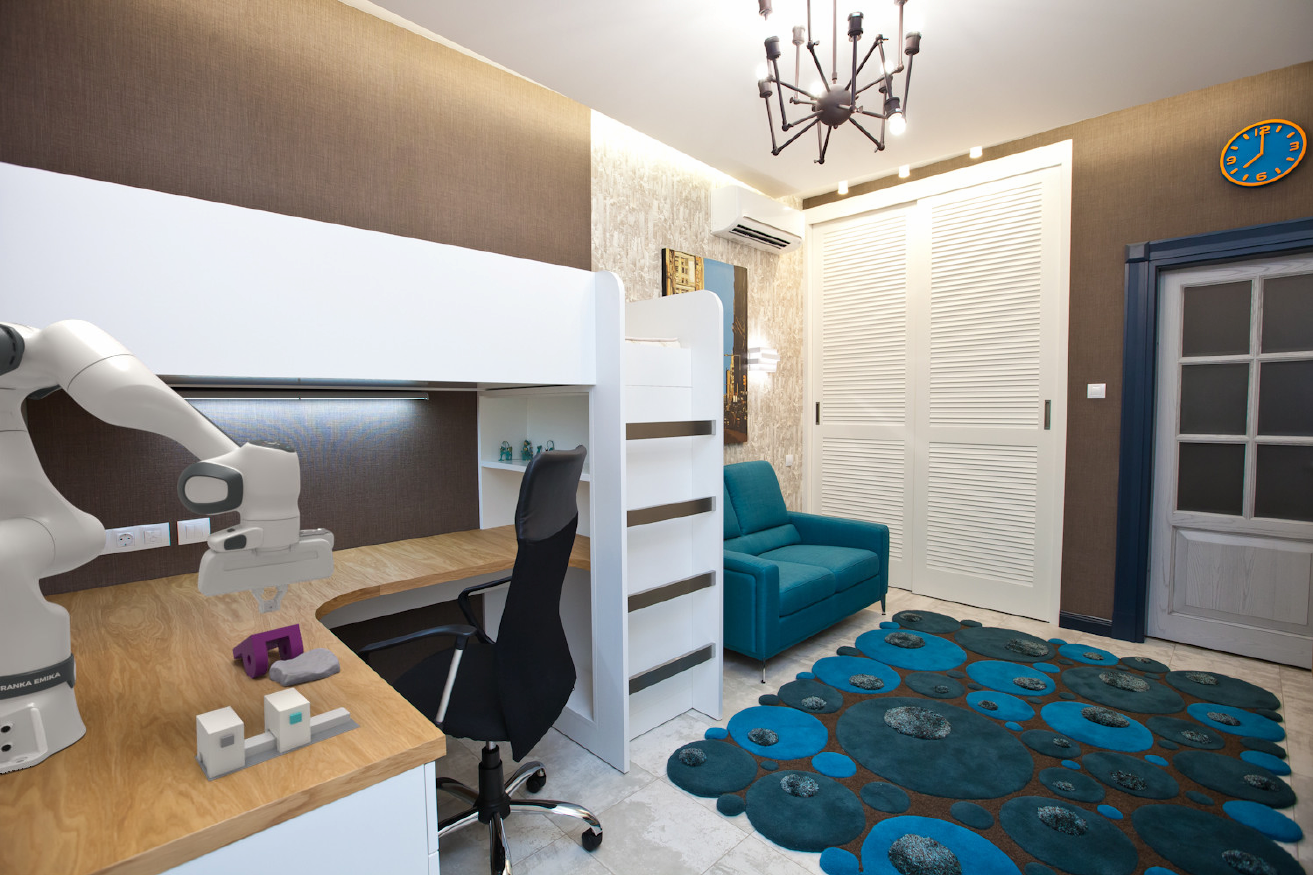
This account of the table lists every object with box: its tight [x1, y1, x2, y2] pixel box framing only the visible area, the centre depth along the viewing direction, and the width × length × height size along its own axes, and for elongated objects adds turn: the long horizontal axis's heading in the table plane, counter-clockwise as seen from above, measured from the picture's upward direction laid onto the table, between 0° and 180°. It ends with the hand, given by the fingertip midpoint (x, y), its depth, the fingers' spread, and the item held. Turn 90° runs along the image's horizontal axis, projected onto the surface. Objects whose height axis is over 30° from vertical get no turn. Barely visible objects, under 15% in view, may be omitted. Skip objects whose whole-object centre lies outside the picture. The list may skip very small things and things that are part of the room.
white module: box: [263, 687, 311, 753], centre depth 103 cm, size 4×9×7 cm, turn 47°
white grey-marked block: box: [195, 705, 245, 778], centre depth 96 cm, size 4×9×7 cm, turn 47°
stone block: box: [268, 647, 341, 687], centre depth 132 cm, size 12×5×10 cm
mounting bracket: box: [231, 623, 305, 679], centre depth 137 cm, size 9×8×18 cm
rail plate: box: [193, 706, 361, 782], centre depth 103 cm, size 22×10×2 cm, turn 137°
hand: (269, 611), depth 107 cm, fingers closed
